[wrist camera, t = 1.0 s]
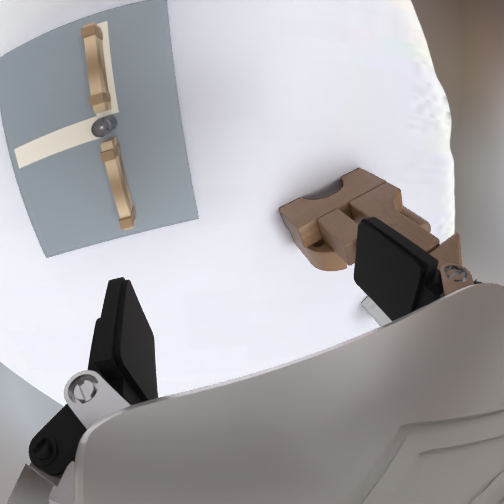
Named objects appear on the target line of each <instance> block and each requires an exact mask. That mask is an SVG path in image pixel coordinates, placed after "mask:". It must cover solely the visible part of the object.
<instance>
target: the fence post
mask: <svg viewBox="0 0 504 504" xmlns="http://www.w3.org/2000/svg"><path fill="white" fill-rule="evenodd" d="M116 126H117V120H116V118H115V117H113V116H107V117H104V118H102V119H99V120H96V121H95V122H94V123H93V125H92V127H91V131H92V134H93V135H94V136H95V137H99V138H100V137H103V136H105V135H106V134H108V133H110V132H111V131H113V130H114V129H115V128H116Z"/></svg>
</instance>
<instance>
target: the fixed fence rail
mask: <svg viewBox="0 0 504 504" xmlns="http://www.w3.org/2000/svg"><path fill="white" fill-rule="evenodd" d="M81 37H82V38H83V39H84V44H85V54H86V63H87V71H88V79H89V86H90V92H91V96H89V103H90V106H93V110H94V114H96V113H100V112H103V111H107V110H110V109H112V108H111V103H110V101H111V97H110V93H109V90H108V84H107V77H106V69H105V61H104V52H103V43H102V40H103V33H102V31H101V28H100V27H99V26H98V25H97V24H96V23H95V22H93V23H90V24H87V25H84V26H83V28H82V29H81Z"/></svg>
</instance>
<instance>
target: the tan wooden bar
mask: <svg viewBox="0 0 504 504" xmlns="http://www.w3.org/2000/svg"><path fill="white" fill-rule="evenodd" d="M100 145H101V149H102V152H101V153H100V157H101V161H102V163H103V162H105V166H106V170H107V174H108V178H109V181H110V185H111V189H112V192H113V196H114V199H115V203H116V206H117V210H118V213H119V216H120V218H119V224H120V228H121V230H122V229H124V231H125V230H128V229H132V228H134V226H135V220H136V210H135V206H134V205H133V202H132V198H131V194H130V191H129V187H128V183H127V179H126V175H125V171H124V167H123V162H122V158H121V154H120V152H121V150H120V145H119V143H118V140H117V136H115V137H111V138H108V139H106V140H104V141H103V142H102V143H100Z"/></svg>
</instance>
